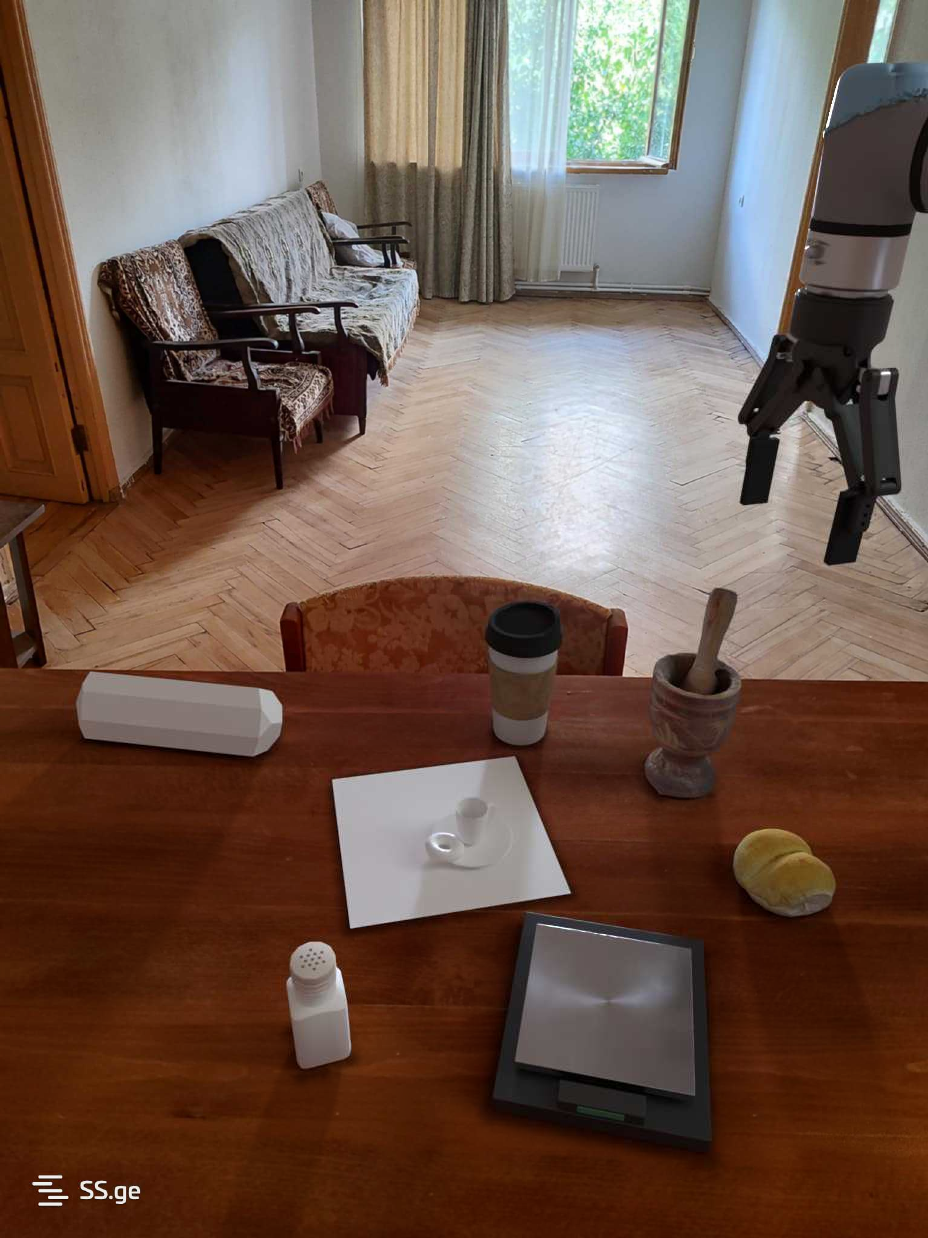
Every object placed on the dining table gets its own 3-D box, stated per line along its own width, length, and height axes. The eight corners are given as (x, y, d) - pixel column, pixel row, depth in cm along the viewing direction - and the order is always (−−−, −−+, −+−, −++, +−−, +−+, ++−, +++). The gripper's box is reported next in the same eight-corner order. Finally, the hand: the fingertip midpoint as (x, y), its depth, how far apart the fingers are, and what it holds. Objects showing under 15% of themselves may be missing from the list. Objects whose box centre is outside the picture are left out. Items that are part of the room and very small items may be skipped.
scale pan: (690, 955, 72) (691, 948, 71) (693, 1102, 61) (695, 1096, 61) (536, 929, 74) (536, 923, 74) (514, 1068, 63) (514, 1061, 63)
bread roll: (787, 839, 86) (795, 808, 84) (846, 907, 79) (857, 875, 77) (712, 856, 84) (719, 825, 82) (766, 928, 77) (774, 896, 75)
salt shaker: (352, 1060, 66) (345, 976, 61) (299, 1074, 65) (287, 990, 60) (343, 1014, 69) (336, 931, 64) (292, 1027, 68) (280, 943, 63)
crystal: (50, 722, 95) (263, 745, 92) (73, 663, 99) (280, 683, 95) (80, 748, 101) (281, 771, 98) (102, 692, 105) (296, 712, 102)
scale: (700, 952, 75) (705, 933, 73) (708, 1154, 60) (713, 1134, 59) (524, 923, 77) (526, 904, 76) (491, 1110, 63) (492, 1090, 61)
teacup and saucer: (430, 878, 81) (429, 845, 79) (416, 819, 88) (415, 787, 86) (521, 864, 83) (523, 832, 81) (501, 807, 90) (502, 776, 88)
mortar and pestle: (638, 731, 101) (659, 575, 91) (715, 738, 100) (745, 582, 90) (639, 798, 91) (663, 632, 81) (725, 807, 90) (760, 640, 80)
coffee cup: (571, 735, 100) (581, 621, 93) (511, 762, 96) (517, 644, 89) (525, 700, 106) (531, 590, 99) (468, 723, 102) (469, 610, 95)
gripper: (724, 266, 80) (691, 485, 91) (914, 323, 60) (843, 598, 70) (795, 264, 82) (755, 479, 93) (1004, 318, 62) (922, 586, 72)
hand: (793, 530), depth 82 cm, fingers open, 13 cm apart
